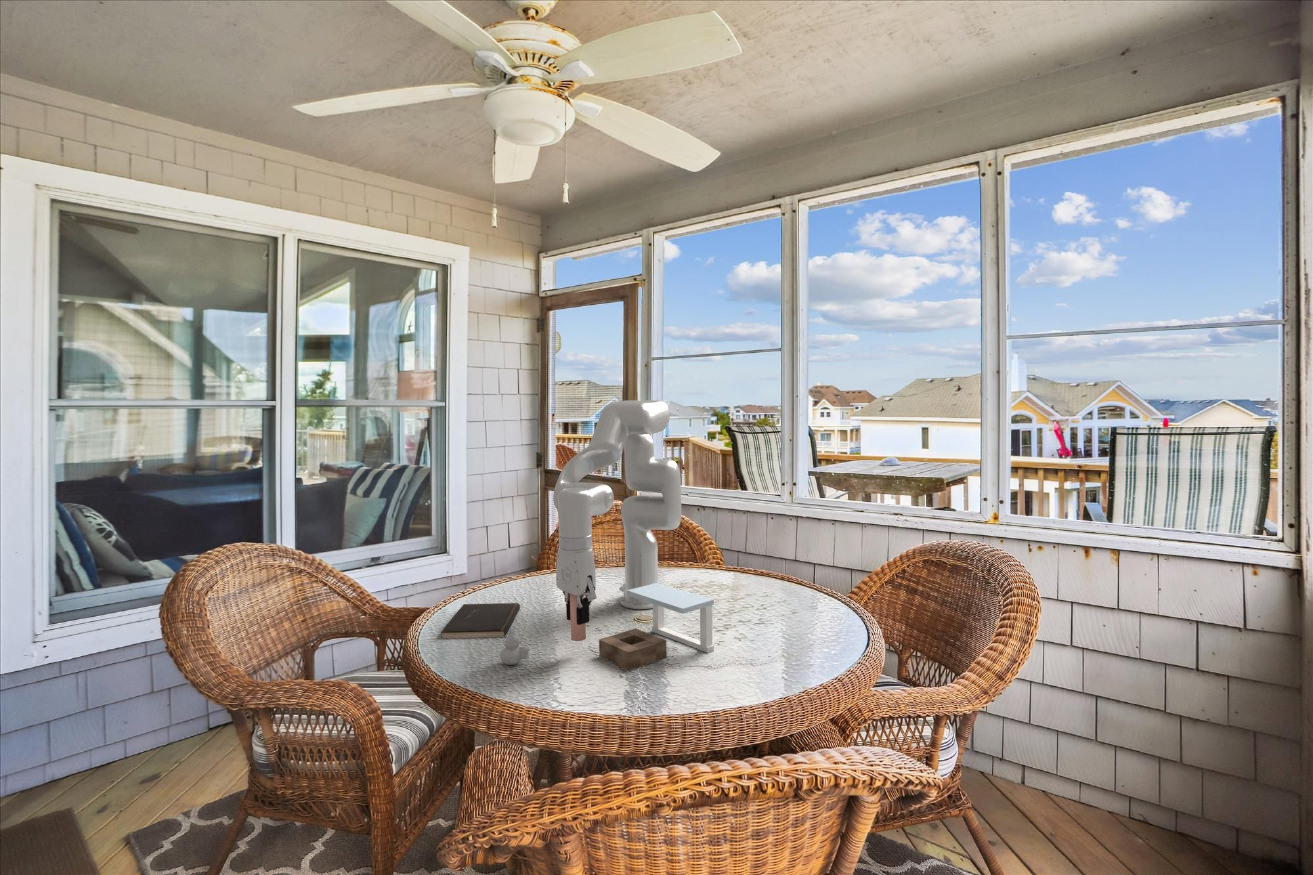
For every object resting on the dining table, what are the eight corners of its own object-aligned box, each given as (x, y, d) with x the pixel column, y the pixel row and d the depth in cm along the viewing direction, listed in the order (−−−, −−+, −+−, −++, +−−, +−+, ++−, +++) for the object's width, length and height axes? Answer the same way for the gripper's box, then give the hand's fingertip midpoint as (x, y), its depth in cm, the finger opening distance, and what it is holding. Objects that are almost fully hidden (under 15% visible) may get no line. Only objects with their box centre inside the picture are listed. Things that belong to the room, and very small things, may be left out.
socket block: (599, 656, 152) (599, 639, 151) (635, 644, 159) (635, 628, 159) (629, 670, 143) (629, 652, 143) (666, 657, 151) (666, 640, 150)
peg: (568, 638, 151) (566, 587, 150) (580, 634, 154) (578, 584, 153) (576, 642, 149) (575, 590, 148) (588, 638, 151) (587, 587, 150)
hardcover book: (440, 640, 164) (440, 631, 164) (463, 611, 187) (463, 603, 187) (505, 639, 165) (505, 630, 165) (520, 610, 188) (520, 602, 188)
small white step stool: (627, 638, 163) (627, 590, 162) (657, 629, 170) (657, 582, 169) (683, 661, 148) (682, 608, 147) (713, 650, 155) (713, 599, 154)
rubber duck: (503, 659, 151) (503, 624, 150) (532, 659, 150) (531, 624, 150) (497, 668, 145) (496, 632, 145) (526, 668, 145) (526, 633, 145)
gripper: (542, 539, 153) (544, 615, 155) (583, 552, 141) (585, 635, 142) (569, 534, 158) (571, 608, 160) (610, 545, 146) (612, 626, 147)
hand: (578, 620), depth 151 cm, fingers closed on peg, 3 cm apart
